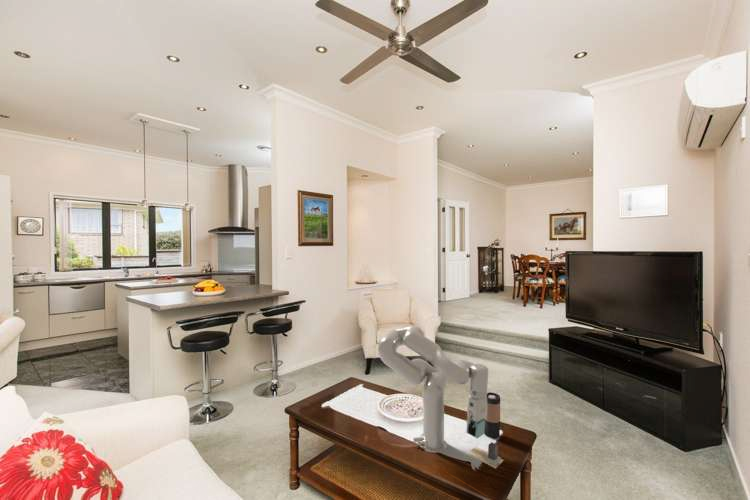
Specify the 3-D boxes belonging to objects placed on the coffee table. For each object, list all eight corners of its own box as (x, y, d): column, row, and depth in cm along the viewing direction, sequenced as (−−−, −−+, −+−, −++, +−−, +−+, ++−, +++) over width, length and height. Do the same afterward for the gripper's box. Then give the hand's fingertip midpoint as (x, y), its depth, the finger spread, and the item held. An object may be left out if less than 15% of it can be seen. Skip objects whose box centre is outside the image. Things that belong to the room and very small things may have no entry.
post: (495, 465, 144) (495, 449, 143) (484, 460, 147) (485, 444, 147) (500, 460, 147) (500, 445, 147) (490, 455, 150) (490, 440, 150)
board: (495, 470, 142) (495, 468, 142) (466, 455, 152) (466, 453, 152) (503, 461, 147) (503, 460, 147) (475, 447, 157) (475, 446, 157)
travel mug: (501, 441, 162) (501, 400, 162) (484, 439, 164) (485, 398, 163) (498, 432, 170) (499, 393, 169) (482, 430, 171) (483, 391, 171)
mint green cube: (477, 438, 148) (478, 424, 148) (466, 432, 152) (467, 418, 152) (484, 433, 152) (485, 419, 152) (472, 428, 156) (473, 414, 156)
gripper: (475, 402, 143) (472, 443, 144) (495, 390, 154) (492, 428, 156) (460, 395, 148) (457, 435, 149) (480, 384, 160) (477, 421, 161)
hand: (475, 431), depth 152 cm, fingers closed on mint green cube, 5 cm apart
